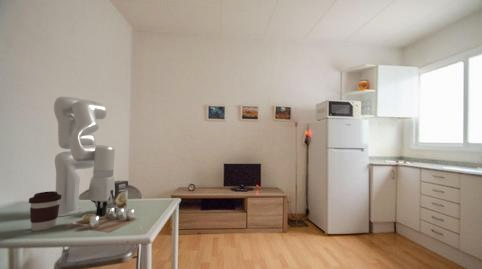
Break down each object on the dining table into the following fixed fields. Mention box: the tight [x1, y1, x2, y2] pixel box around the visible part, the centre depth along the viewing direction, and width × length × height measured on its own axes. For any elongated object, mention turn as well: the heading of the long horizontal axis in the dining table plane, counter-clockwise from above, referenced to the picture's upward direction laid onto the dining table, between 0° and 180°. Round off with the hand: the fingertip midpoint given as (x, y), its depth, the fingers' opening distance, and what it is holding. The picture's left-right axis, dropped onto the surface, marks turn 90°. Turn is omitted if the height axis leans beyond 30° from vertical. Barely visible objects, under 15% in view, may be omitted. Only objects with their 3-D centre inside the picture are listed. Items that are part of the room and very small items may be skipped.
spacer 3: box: [115, 208, 125, 220], centre depth 96 cm, size 3×3×4 cm
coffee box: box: [106, 180, 129, 215], centre depth 108 cm, size 9×6×16 cm
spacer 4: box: [125, 208, 135, 221], centre depth 95 cm, size 3×3×4 cm
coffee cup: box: [28, 190, 62, 231], centre depth 87 cm, size 10×10×15 cm
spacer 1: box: [89, 214, 99, 229], centre depth 85 cm, size 3×3×4 cm
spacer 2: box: [106, 207, 116, 219], centre depth 98 cm, size 3×3×4 cm
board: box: [62, 215, 139, 234], centre depth 91 cm, size 24×16×1 cm, turn 76°
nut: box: [81, 213, 96, 223], centre depth 93 cm, size 4×5×2 cm
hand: (100, 216), depth 92 cm, fingers closed
